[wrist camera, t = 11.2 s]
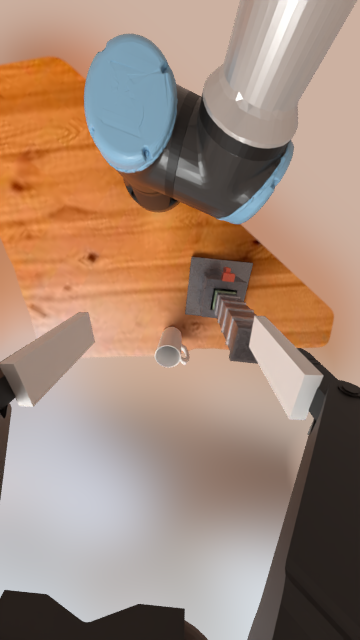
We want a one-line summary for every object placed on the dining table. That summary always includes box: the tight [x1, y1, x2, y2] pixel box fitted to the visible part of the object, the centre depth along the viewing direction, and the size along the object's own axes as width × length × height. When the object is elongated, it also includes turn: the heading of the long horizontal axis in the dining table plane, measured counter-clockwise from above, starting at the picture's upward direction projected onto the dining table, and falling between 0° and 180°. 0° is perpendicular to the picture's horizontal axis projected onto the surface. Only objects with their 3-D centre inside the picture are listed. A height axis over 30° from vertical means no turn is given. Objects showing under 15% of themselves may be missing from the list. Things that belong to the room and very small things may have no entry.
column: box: [212, 289, 258, 364], centre depth 32 cm, size 5×5×22 cm
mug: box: [155, 327, 189, 367], centre depth 52 cm, size 10×7×12 cm, turn 57°
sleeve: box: [185, 257, 253, 318], centre depth 45 cm, size 16×16×12 cm
